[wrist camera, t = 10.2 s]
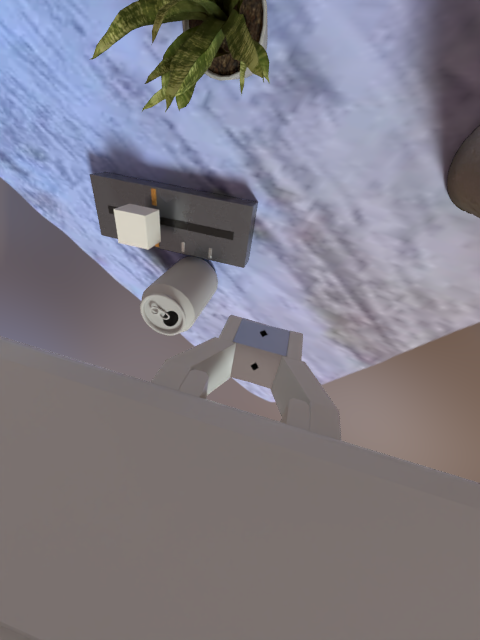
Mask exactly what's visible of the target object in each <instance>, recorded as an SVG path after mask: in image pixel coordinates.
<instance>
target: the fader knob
mask: <svg viewBox="0 0 480 640" xmlns="http://www.w3.org/2000/svg"><path fill="white" fill-rule="evenodd" d="M114 216H115V222H116V229H117V235H118V241H119V243H122V244H126V245H130V246H135V247H139V248H143V249H147V250H148V249H150V248H152V247H153V246H155V245H156V244H158V243H159V242H161V234H160V216H159V210H157V209H153V208H148V207H143V206H139V205H134V204H127V205H124V206H121V207H118V208H115V209H114Z"/></svg>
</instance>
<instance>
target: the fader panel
mask: <svg viewBox="0 0 480 640" xmlns="http://www.w3.org/2000/svg"><path fill="white" fill-rule="evenodd" d="M90 177H91V183H92V188H93V193H94V198H95V203H96V209H97V214H98V219H99V224H100V229H101V235H104V236H108V237H112V238H117V239H118V235H117V229H116V222H115V216H114V209H115V208H118V207H121V206H124V205H127V204H134V205H139V206H143V207H148V208H153V209H157V210H159V216H160V234H161V242H159V243H158V244H156V245H155V246H153V247H156V248H160V249H165V250H169V251H173V252H178V253H182V254H186V255H191V256H195V257H199V258H204V259H208V260H212V261H217V262H221V263H225V264H230V265H234V266H238V267H243V268H244V267H245V265H246V264H247V262H248V260H249V255H250V249H251V243H252V236H253V230H254V224H255V218H256V211H257V205H258V202H256V201H250V200H245V199H240V198H235V197H230V196H225V195H220V194H215V193H210V192H205V191H200V190H194V189H189V188H184V187H179V186H174V185H169V184H164V183H159V182H154V181H149V180H144V179H139V178H133V177H128V176H123V175H118V174H113V173H108V172H101V173H95V174H90Z"/></svg>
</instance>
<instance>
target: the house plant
mask: <svg viewBox="0 0 480 640" xmlns="http://www.w3.org/2000/svg"><path fill="white" fill-rule="evenodd" d="M174 21H182V23H183V33H182V34H181V35H180V36H178V37H177V39H176V40H175V41H174V42H173V43H172V44H171V45H170V46H169V48H168V49H167V51H166V52H165V54H164V56H163V60H162V61H161V62H160V64H159V65H158V66H157V67H156V68H155V70H154V71H153V72H152V73H151V74H150V75H149V76H148V79H147V81H146V83H148V82H150V81H152V80H154V79H156V78H157V77H159V76H161V78H162V89H160V90H159V91H158V92H157V93H155V94H154V95H153V97H152V98H151V99H150V100H149V101H148V103H147V104H146V105H145V106H144V108H143V110H144V109H147V108H150V107H153V106H154V105H156V104H157V103H159V102H161V101H162V100H164V99H166V105H167V109H168V108H169V106H170V105H171V103H172V101H173V98H174V97H175V96H176V102H177V105H178V109H179V110H180V109H181V108H184V107H186V106H187V104H188V103H189V101H190V99H191V97H192V94H193V91H194V88H195V85H196V82H197V81H198V80H199V79H200V78H201V77H202V76H203V74H204V73H205V74H206V75H208V76H209V77H211V78H214V79H217V80H233V79H240V87H241V94H242V90H243V87H244V78H247V77H249V76H251V75H252V74H256V75H258V76H260V77H261V78H263V82H264V77H265V78H266V79H267V80H268V82H269V78H268V72H269V60H268V56H267V53H266V49H267V3H266V0H139V1H137V2H134V3H132V4H130V5H129V6H127V7H125V8H124V9H122V10H120V12H119V13H118V15H117V16H116V17H115V19H114V20H113V22H112V23H111V25H110V27H109V29H108V31H107V32H106V34H105V35H104V36H103V37H102V39H101V40H100V41H99V43H98V44H97V46H96V49H95V52H94V55H93V58H91V59H94V58H96V57H97V56H99V55H100V54H101V53H103V52H104V51H106V50H107V49H109V48H110V47H111V46H112V45H113V44H114V43H116V42H117V41H118V40H120V39H121V38H122V37H124V36H125V35H126V34H127V33H129V32H130V31H132V30H134V29H136V28H139V27H142V26H146V25H153V24H154V25H153V30H152V43H153V42H154V40H155V38H156V35H157V33H158V30H159V28H160V26H161V24H162V23H167V22H174ZM151 45H152V44H151ZM263 76H264V77H263ZM146 83H145V84H146ZM269 84H270V83H269ZM167 109H166V110H167ZM143 110H142V111H143ZM165 112H166V111H165Z"/></svg>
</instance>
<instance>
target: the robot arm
mask: <svg viewBox="0 0 480 640" xmlns="http://www.w3.org/2000/svg"><path fill="white" fill-rule="evenodd" d="M302 342H303V334H302V333H298V332H294V331H288V330H284V329H280V328H276V327H273V326H269V325H266V324H262V323H259V322H255V321H252V320H248V319H245V318H241V317H238V316H234V315H230V316H229V318H228V320H227V322H226V324H225V326H224V328H223V330H222V332H221V334H220V336H219V338H216V337H215V338H212V339H210V340H208V341H206V342H204V343H202V344H199V345H197V346H195V347H193V348H191V349H188V350H186V351H184V352H182V353H180V354H178V355H175V356H173V357H171V358H169V359H167V360H166V361H165V362H164V364H163V365H162V367H161V368H160V370H159V371H158V372H157V374H156V375H155V377H154V378H153V380H152V381H151V382H148V381H145V380H141V379H138V378H134V377H132V376H128V375H125V374H121V373H118V372H115V371H112V370H108V369H105V368H102V367H99V366H96V365H92V364H89V363H86V362H83V361H79V360H76V359H73V358H69V357H66V356H63V355H60V354H56V353H53V352H50V351H47V350H43V349H40V348H37V347H34V346H30V345H27V344H24V343H20V342H17V341H14V340H11V339H8V338H4V337H1V336H0V640H480V483H477V482H474V481H471V480H468V479H465V478H461V477H458V476H455V475H452V474H448V473H445V472H442V471H439V470H435V469H432V468H429V467H425V466H422V465H419V464H415V463H412V462H409V461H406V460H402V459H399V458H396V457H393V456H390V455H386V454H383V453H380V452H376V451H373V450H370V449H366V448H363V447H360V446H357V445H353V444H350V443H347V442H344V441H341V430H340V416H339V410H338V409H337V407H336V406H335V404H334V403H333V401H332V400H331V399H330V397H329V396H328V394H327V393H326V392H325V390H324V389H323V387H322V386H321V384H320V383H319V382H318V380H317V379H316V377H315V376H314V374H313V373H312V372H311V370H310V369H309V367H308V366H307V365H306V363H305V362H303V361H301V356H302ZM230 377H233V378H236V379H240V380H244V381H248V382H251V383H254V384H257V385H261V386H264V387H267V388H270V389H271V391H272V394H273V396H274V399H275V401H276V404H277V406H278V409H279V411H280V414H281V416H282V419H281V421H280V422H278V421H275V420H272V419H269V418H266V417H262V416H259V415H256V414H252V413H249V412H246V411H243V410H239V409H236V408H233V407H230V406H226V405H223V404H220V403H216V402H213V401H210V400H207V399H206V397H207V395H208V394H209V393H211V392H212V391H213V390H215V389H216V388H217V387H219V386H220V385H221V384H222V383H224V382H225V381H226V380H228V379H229V378H230Z"/></svg>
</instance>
